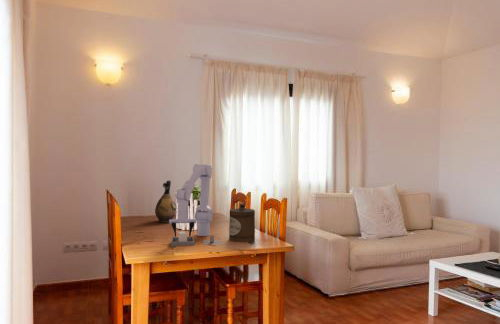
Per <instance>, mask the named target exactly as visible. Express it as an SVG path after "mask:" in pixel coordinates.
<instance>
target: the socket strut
mask: <svg viewBox="0 0 500 324" xmlns="http://www.w3.org/2000/svg"><path fill="white" fill-rule="evenodd" d="M178 237H179V241H178V242H185V241H188V240H187V237H188V233H187V231H178Z"/></svg>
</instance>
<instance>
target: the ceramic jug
mask: <svg viewBox="0 0 500 324" xmlns="http://www.w3.org/2000/svg"><path fill="white" fill-rule="evenodd" d="M171 182H172V181H171V180H167V181H166V182H163V184H162V187H163V188H164V193H163V194H162V196H161V197H160V198H159V200H158V201H157V202H156V205H155V208H154V215H155V217H156V218H157V220H158V223H159V222H160V223H169V220H172V219H175V217H176V214H177V211H176V209H177V205H176V201H175V200H174V198H173V197H172V195H171V193H170V189H171V184H172V183H171Z"/></svg>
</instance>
